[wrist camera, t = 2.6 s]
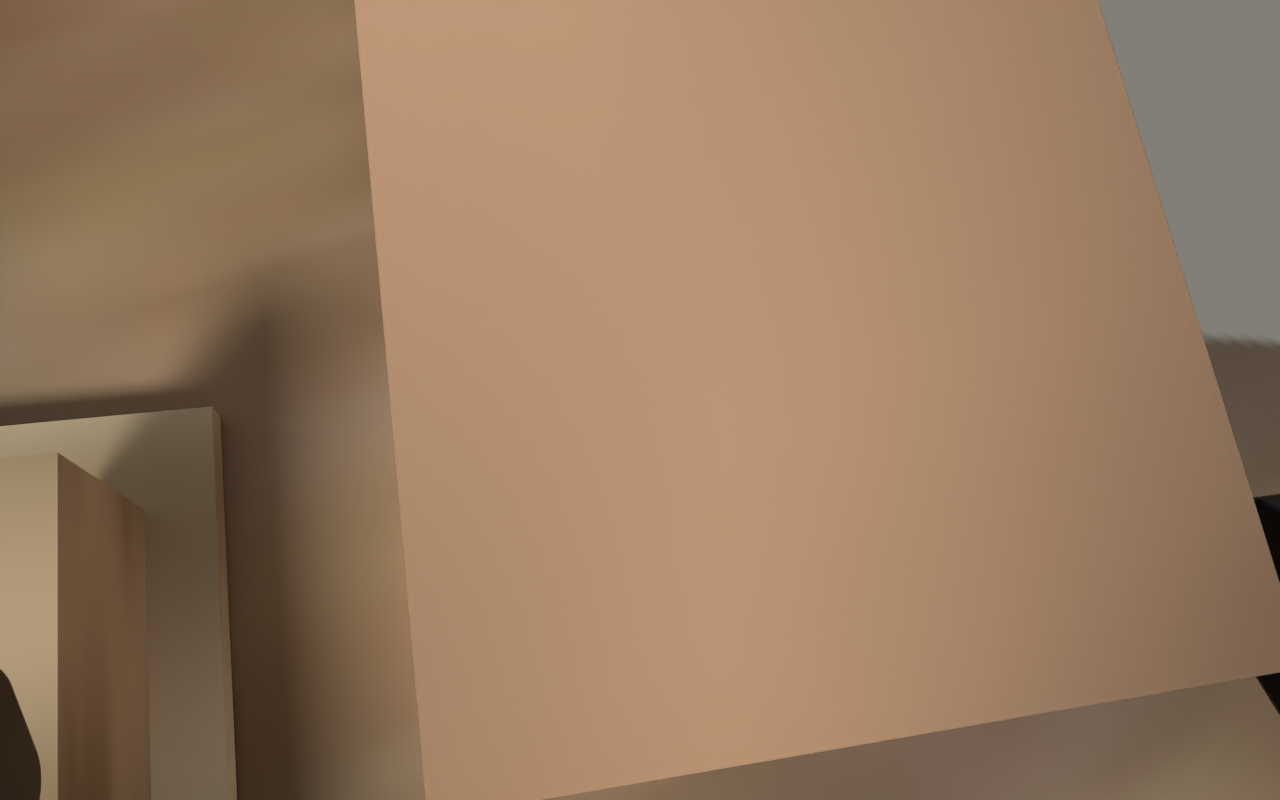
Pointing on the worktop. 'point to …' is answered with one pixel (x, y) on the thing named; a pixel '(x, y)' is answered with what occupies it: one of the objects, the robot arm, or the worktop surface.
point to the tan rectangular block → (786, 384)
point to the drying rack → (119, 604)
